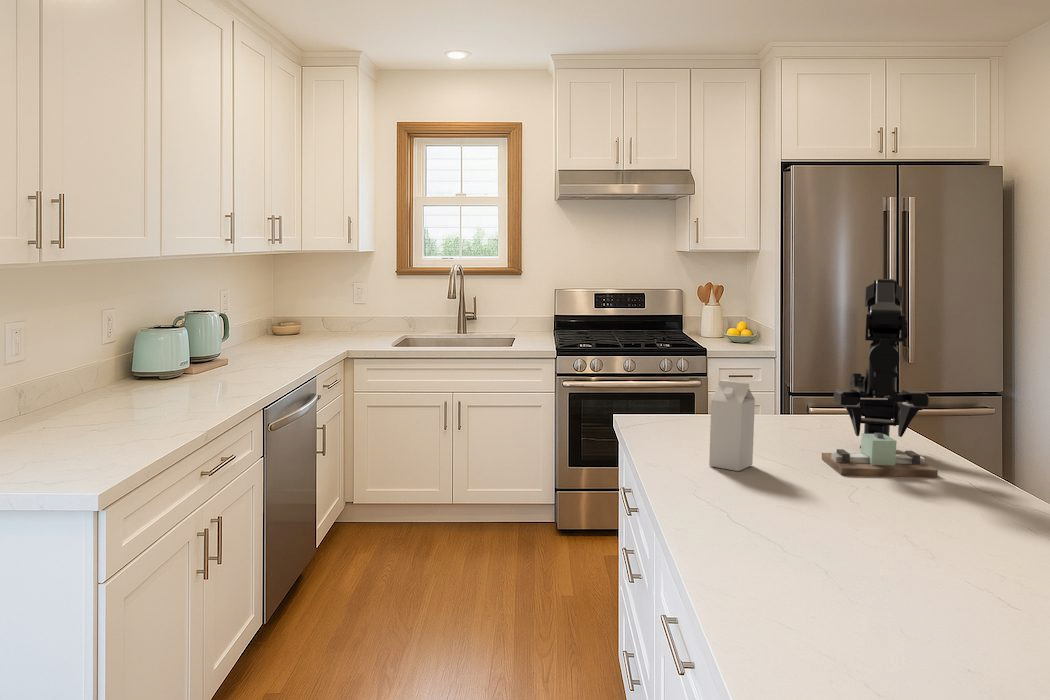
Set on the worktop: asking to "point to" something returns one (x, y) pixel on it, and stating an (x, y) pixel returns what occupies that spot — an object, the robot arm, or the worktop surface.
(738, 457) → the milk carton
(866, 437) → the block
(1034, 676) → the worktop surface
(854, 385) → the robot arm
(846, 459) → the rail board
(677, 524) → the worktop surface
